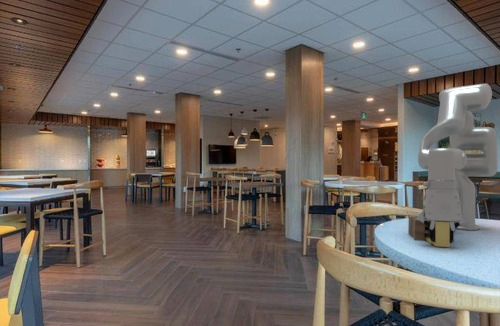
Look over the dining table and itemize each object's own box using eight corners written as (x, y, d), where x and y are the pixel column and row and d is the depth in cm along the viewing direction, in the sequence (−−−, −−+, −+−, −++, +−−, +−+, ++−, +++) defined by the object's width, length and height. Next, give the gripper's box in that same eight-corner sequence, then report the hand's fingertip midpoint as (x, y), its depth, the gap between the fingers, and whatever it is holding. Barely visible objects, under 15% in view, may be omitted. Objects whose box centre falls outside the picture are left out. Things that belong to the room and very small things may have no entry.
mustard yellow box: (419, 234, 116) (419, 213, 116) (434, 235, 115) (434, 214, 115) (433, 246, 100) (433, 221, 100) (451, 247, 98) (451, 222, 98)
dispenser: (408, 233, 118) (408, 215, 118) (443, 235, 115) (443, 217, 115) (415, 240, 108) (415, 220, 108) (454, 242, 105) (454, 222, 105)
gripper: (416, 185, 99) (415, 242, 99) (475, 187, 94) (475, 246, 94) (410, 184, 106) (410, 237, 106) (465, 185, 102) (465, 240, 102)
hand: (440, 240), depth 100 cm, fingers closed on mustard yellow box, 4 cm apart
